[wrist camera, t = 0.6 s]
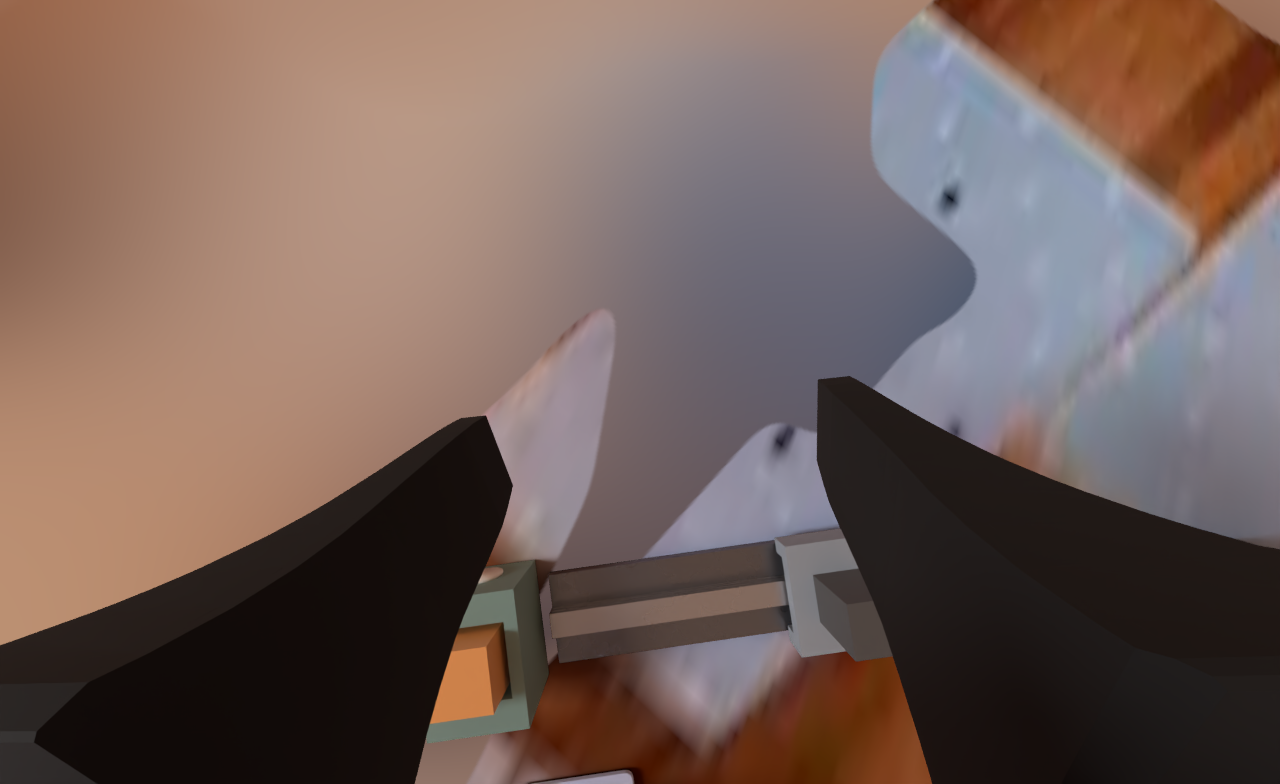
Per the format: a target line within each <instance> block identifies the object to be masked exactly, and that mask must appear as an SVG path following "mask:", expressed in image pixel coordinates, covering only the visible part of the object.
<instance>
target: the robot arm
mask: <svg viewBox="0 0 1280 784" xmlns="http://www.w3.org/2000/svg"><path fill="white" fill-rule="evenodd" d="M817 412H818V413H817V462H818V466H819V470H820V473H821V477H822V480H823V484H824V487H825V490H826V494H827V497H828V500H829V503H830V505H831V508H832V510H833V512H834V515H835V517H836V519H837V521H838V524H839V526H840V528H841V530H842V533H843V535H844V537H845V539H846V542H847V544H848V546H849V548H850V551H851V553H852V555H853V557H854V559H855V562H856V564H857V566H858V568H859V571H860V573H861V575H862V577H863V580H864V582H865V584H866V586H867V588H868V591H869V593H870V595H871V597H872V600H873V602H874V605H875V607H876V610H877V612H878V615H879V617H880V620H881V622H882V625H883V628H884V631H885V634H886V637H887V640H888V643H889V646H890V649H891V652H892V655H893V658H894V661H895V664H896V667H897V670H898V673H899V676H900V680H901V683H902V686H903V689H904V692H905V695H906V699H907V702H908V705H909V708H910V711H911V715H912V718H913V721H914V724H915V727H916V730H917V734H918V737H919V740H920V743H921V747H922V750H923V754H924V757H925V760H926V764H927V767H928V770H929V774H930V777H931V780H932V784H1280V552H1279V551H1276V550H1272V549H1268V548H1265V547H1261V546H1257V545H1254V544H1250V543H1247V542H1243V541H1240V540H1236V539H1233V538H1229V537H1226V536H1222V535H1219V534H1215V533H1212V532H1208V531H1205V530H1201V529H1198V528H1194V527H1191V526H1187V525H1184V524H1181V523H1178V522H1175V521H1171V520H1168V519H1165V518H1162V517H1158V516H1155V515H1152V514H1149V513H1146V512H1143V511H1139V510H1137V509H1134V508H1131V507H1128V506H1125V505H1122V504H1119V503H1116V502H1113V501H1110V500H1108V499H1105V498H1102V497H1099V496H1096V495H1093V494H1090V493H1087V492H1084V491H1082V490H1079V489H1076V488H1074V487H1071V486H1068V485H1066V484H1063V483H1060V482H1058V481H1055V480H1052V479H1050V478H1047V477H1045V476H1043V475H1040V474H1038V473H1035V472H1033V471H1031V470H1028V469H1026V468H1023V467H1021V466H1019V465H1016V464H1014V463H1011V462H1009V461H1007V460H1004V459H1002V458H1000V457H998V456H996V455H993V454H991V453H989V452H987V451H985V450H983V449H981V448H979V447H977V446H975V445H973V444H971V443H969V442H967V441H965V440H963V439H961V438H959V437H957V436H955V435H953V434H951V433H949V432H947V431H945V430H943V429H941V428H939V427H937V426H936V425H934V424H932V423H930V422H928V421H926V420H925V419H923V418H921V417H919V416H917V415H916V414H914V413H912V412H910V411H909V410H907V409H905V408H904V407H902V406H900V405H899V404H897V403H895V402H893V401H892V400H890V399H888V398H887V397H885V396H883V395H882V394H880V393H878V392H877V391H875V390H873V389H872V388H870V387H868V386H867V385H865V384H863V383H862V382H859V381H858V380H856V379H854V378H852V377H850V376H847V377H837V378H828V379H819V380H818V410H817ZM512 487H513V484H512V482H511V479H510V477H509V474H508V472H507V469H506V466H505V464H504V461H503V459H502V456H501V453H500V451H499V448H498V446H497V443H496V440H495V438H494V435H493V433H492V430H491V427H490V425H489V422H488V420H487V417H486V416H477V417H468V418H461V419H459V420H457V421H455V422H453V423H451V424H449V425H447V426H446V427H444V428H443V429H441V430H439V431H437V432H436V433H434V434H433V435H431V436H430V437H428V438H427V439H425V440H424V441H422V442H421V443H419V444H418V445H416V446H415V447H413V448H412V449H410V450H409V451H407V452H406V453H404V454H403V455H401V456H400V457H398V458H397V459H395V460H394V461H392V462H391V463H389V464H388V465H386V466H385V467H383V468H382V469H380V470H379V471H377V472H376V473H374V474H372V475H371V476H369V477H368V478H366V479H364V480H363V481H361V482H360V483H358V484H357V485H355V486H353V487H352V488H350V489H349V490H347V491H345V492H344V493H343V494H341V495H339V496H338V497H336V498H334V499H333V500H331V501H330V502H328V503H326V504H324V505H323V506H321V507H319V508H318V509H316V510H314V511H312V512H311V513H309V514H307V515H306V516H304V517H302V518H300V519H298V520H296V521H294V522H293V523H291V524H289V525H287V526H285V527H283V528H281V529H279V530H278V531H276V532H274V533H272V534H270V535H268V536H266V537H264V538H262V539H260V540H258V541H256V542H254V543H252V544H250V545H248V546H246V547H243V548H242V549H240V550H237V551H235V552H233V553H231V554H229V555H227V556H225V557H223V558H220V559H218V560H216V561H214V562H212V563H210V564H208V565H206V566H204V567H202V568H199V569H197V570H195V571H193V572H190V573H188V574H186V575H183V576H181V577H179V578H176V579H174V580H172V581H169V582H167V583H165V584H162V585H160V586H158V587H156V588H153V589H151V590H148V591H146V592H143V593H140V594H138V595H135V596H133V597H131V598H128V599H126V600H123V601H121V602H118V603H116V604H113V605H111V606H108V607H105V608H103V609H100V610H97V611H95V612H92V613H90V614H87V615H84V616H81V617H78V618H76V619H73V620H70V621H67V622H65V623H62V624H59V625H56V626H53V627H51V628H48V629H45V630H42V631H39V632H37V633H34V634H31V635H28V636H26V637H23V638H20V639H17V640H14V641H12V642H9V643H6V644H3V645H0V784H415V780H416V776H417V772H418V768H419V764H420V759H421V756H422V752H423V748H424V744H425V740H426V736H427V732H428V729H429V725H430V722H431V718H432V715H433V711H434V708H435V704H436V700H437V697H438V693H439V690H440V686H441V683H442V680H443V677H444V673H445V670H446V667H447V664H448V661H449V658H450V654H451V651H452V648H453V645H454V642H455V639H456V636H457V633H458V631H459V628H460V625H461V623H462V620H463V617H464V615H465V613H466V610H467V608H468V606H469V603H470V601H471V599H472V596H473V594H474V592H475V589H476V587H477V585H478V582H479V580H480V578H481V575H482V573H483V571H484V569H485V566H486V564H487V562H488V559H489V557H490V555H491V552H492V550H493V547H494V545H495V543H496V540H497V538H498V535H499V533H500V530H501V528H502V525H503V522H504V519H505V515H506V512H507V508H508V504H509V500H510V496H511V492H512ZM532 784H634V778H633V774H632V772H631V771H629V770H620V771H613V772H607V773H600V774H593V775H586V776H580V777H573V778H566V779H559V780H552V781H546V782H539V783H532Z"/></svg>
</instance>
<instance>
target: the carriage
mask: <svg viewBox="0 0 1280 784" xmlns="http://www.w3.org/2000/svg"><path fill="white" fill-rule="evenodd" d="M774 539H775V545H776V552H777V553H778V554H779V555H780V556H781V557H782V562H783V568H784V575H785V581H786V588H787V594H788V601H789V607H790V614H791V620H792V625H788V630H789V637H790V641H791V642H792V644H793V645H794V647H795V648H796V650H797V651H798V652H799V654H800V655H801V657H809V656H816V655H823V654H830V653H837V652H843V651H847V652H848V653H849V654H850V656H851V657H852V658H853V659H854V660H855V661H863V660H870V659H876V658H883V657H890V656H893V655H892V652H891V649H890V646H889V643H888V640H887V637H886V634H885V631H884V628H883V625H882V622H881V620H880V617H879V615H878V612H877V610H876V607H875V605H874V602H873V600H872V597H871V595H870V593H869V591H868V588H867V586H866V584H865V582H864V580H863V577H862V575H861V573H860V571H859V568H858V566H857V564H856V562H855V559H854V557H853V555H852V553H851V551H850V548H849V546H848V544H847V542H846V539H845V537H844V535H843V533H842V530H841V528H840V529H833V530H826V531H819V532H812V533H805V534H798V535H791V536H784V537H776V538H774Z"/></svg>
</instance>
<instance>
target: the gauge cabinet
mask: <svg viewBox="0 0 1280 784" xmlns="http://www.w3.org/2000/svg"><path fill="white" fill-rule="evenodd" d="M500 622H503V623H504V631H505V640H506V649H507V657H508V666H509V674H510V683H509V685H508V687H507V689H506V691H505V693H504V695H503V697H502V699H501V701H500V703H499V705H498V707H497V709H496V711H495V713H494V715H488V716H481V717H475V718H468V719H461V720H454V721H447V722H440V723H433V724H430V725H429V729H428V732H427V736H426V738H427V743H433V742H440V741H447V740H454V739H460V738H468V737H475V736H482V735H488V734H495V733H502V732H509V731H516V730H523V729H530V726H531V723H532V721H533V718H534V715H535V712H536V709H537V706H538V704H539V701H540V698H541V695H542V692H543V689H544V687H545V684H546V681H547V678H548V675H549V670H548V662H547V654H546V645H545V637H544V630H543V621H542V613H541V604H540V596H539V588H538V580H537V571H536V563H535V560H530V561H523V562H516V563H509V564H502V565H495V566H488V567H485V569H484V571H483V573H482V575H481V578H480V580H479V582H478V585H477V587H476V589H475V592H474V594H473V596H472V599H471V601H470V603H469V606H468V608H467V610H466V613H465V615H464V617H463V620H462V623H461V625H460V628H465V627H472V626H479V625H486V624H493V623H500Z"/></svg>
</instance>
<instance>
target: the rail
mask: <svg viewBox="0 0 1280 784" xmlns="http://www.w3.org/2000/svg"><path fill="white" fill-rule="evenodd" d="M549 583H550V591H551V599H552V610H551V612H550V615H549V616H550V624H551V632H552V638H556V640H557V648H558V656H559V663H564V662H571V661H578V660H585V659H592V658H599V657H606V656H613V655H620V654H626V653H633V652H640V651H647V650H654V649H661V648H668V647H675V646H682V645H689V644H696V643H703V642H710V641H717V640H723V639H730V638H737V637H744V636H751V635H758V634H765V633H772V632H779V631H786V630H788V625H792V620H791V614H790V607H789V601H788V594H787V588H786V581H785V575H784V568H783V562H782V557H781V556H780V555H779V554H778V553H777V552H776V545H775V540H772V541H765V542H758V543H751V544H744V545H737V546H730V547H723V548H716V549H709V550H702V551H695V552H688V553H681V554H674V555H667V556H660V557H653V558H645V559H639V560H632V561H624V562H617V563H610V564H603V565H597V566H589V567H582V568H576V569H568V570H562V571H554V572H550V574H549Z"/></svg>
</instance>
